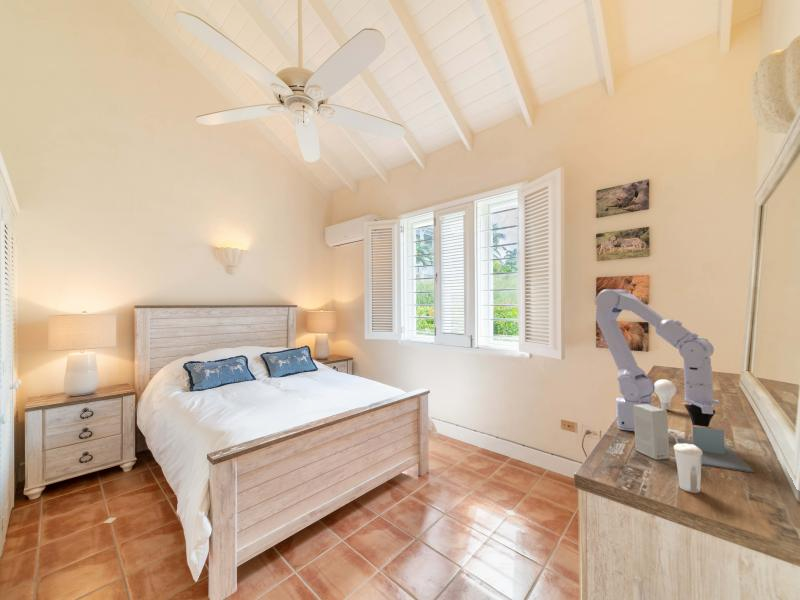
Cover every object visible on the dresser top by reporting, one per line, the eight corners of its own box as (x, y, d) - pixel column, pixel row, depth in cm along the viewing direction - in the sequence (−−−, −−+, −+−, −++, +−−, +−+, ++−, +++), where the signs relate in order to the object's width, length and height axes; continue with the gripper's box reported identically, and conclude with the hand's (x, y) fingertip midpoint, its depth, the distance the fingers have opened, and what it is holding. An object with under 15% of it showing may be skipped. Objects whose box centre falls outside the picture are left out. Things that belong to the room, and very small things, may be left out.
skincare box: (670, 458, 82) (668, 410, 83) (655, 460, 82) (653, 411, 82) (648, 448, 88) (646, 403, 89) (634, 450, 88) (632, 404, 88)
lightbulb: (650, 408, 121) (648, 378, 122) (662, 406, 123) (661, 377, 124) (668, 413, 115) (667, 382, 116) (681, 411, 117) (680, 380, 118)
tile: (693, 450, 86) (692, 426, 86) (691, 447, 87) (690, 424, 87) (724, 454, 83) (723, 430, 83) (722, 452, 84) (721, 428, 85)
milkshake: (686, 480, 72) (684, 434, 72) (710, 494, 67) (708, 444, 67) (666, 481, 72) (664, 435, 72) (688, 495, 67) (686, 445, 67)
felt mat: (690, 463, 80) (690, 461, 80) (674, 439, 94) (674, 437, 94) (753, 472, 75) (753, 471, 75) (726, 446, 89) (726, 444, 89)
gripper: (728, 390, 82) (731, 445, 82) (708, 378, 95) (711, 426, 95) (691, 387, 86) (693, 440, 85) (677, 377, 98) (679, 423, 98)
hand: (700, 433), depth 90 cm, fingers closed
